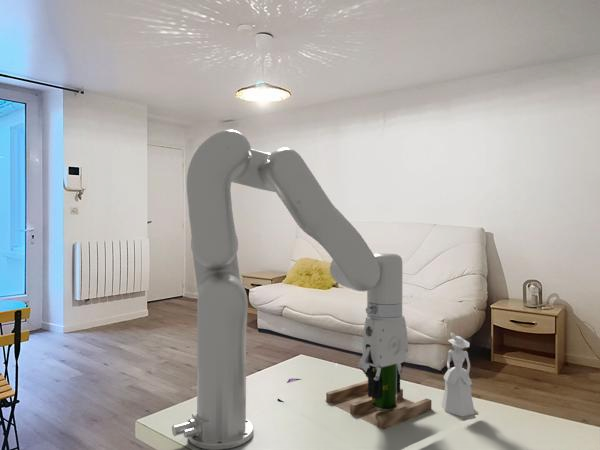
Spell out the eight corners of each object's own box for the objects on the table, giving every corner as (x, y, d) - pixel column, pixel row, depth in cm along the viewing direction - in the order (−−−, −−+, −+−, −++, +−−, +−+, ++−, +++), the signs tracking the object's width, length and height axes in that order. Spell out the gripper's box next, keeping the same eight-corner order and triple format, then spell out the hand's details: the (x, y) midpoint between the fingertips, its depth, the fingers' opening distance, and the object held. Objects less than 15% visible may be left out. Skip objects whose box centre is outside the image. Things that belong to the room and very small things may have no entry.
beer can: (395, 403, 94) (395, 348, 95) (398, 413, 89) (398, 355, 89) (370, 401, 95) (371, 347, 95) (372, 411, 90) (373, 354, 90)
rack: (383, 434, 85) (383, 419, 85) (325, 405, 99) (325, 392, 99) (433, 414, 94) (432, 400, 94) (373, 390, 109) (373, 378, 109)
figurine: (447, 420, 91) (446, 336, 91) (437, 405, 99) (437, 327, 99) (480, 421, 90) (480, 336, 91) (468, 406, 99) (467, 328, 99)
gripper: (369, 317, 84) (369, 409, 84) (423, 309, 95) (423, 391, 94) (343, 311, 90) (343, 397, 90) (397, 304, 101) (396, 381, 100)
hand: (384, 393), depth 92 cm, fingers closed on beer can, 5 cm apart
